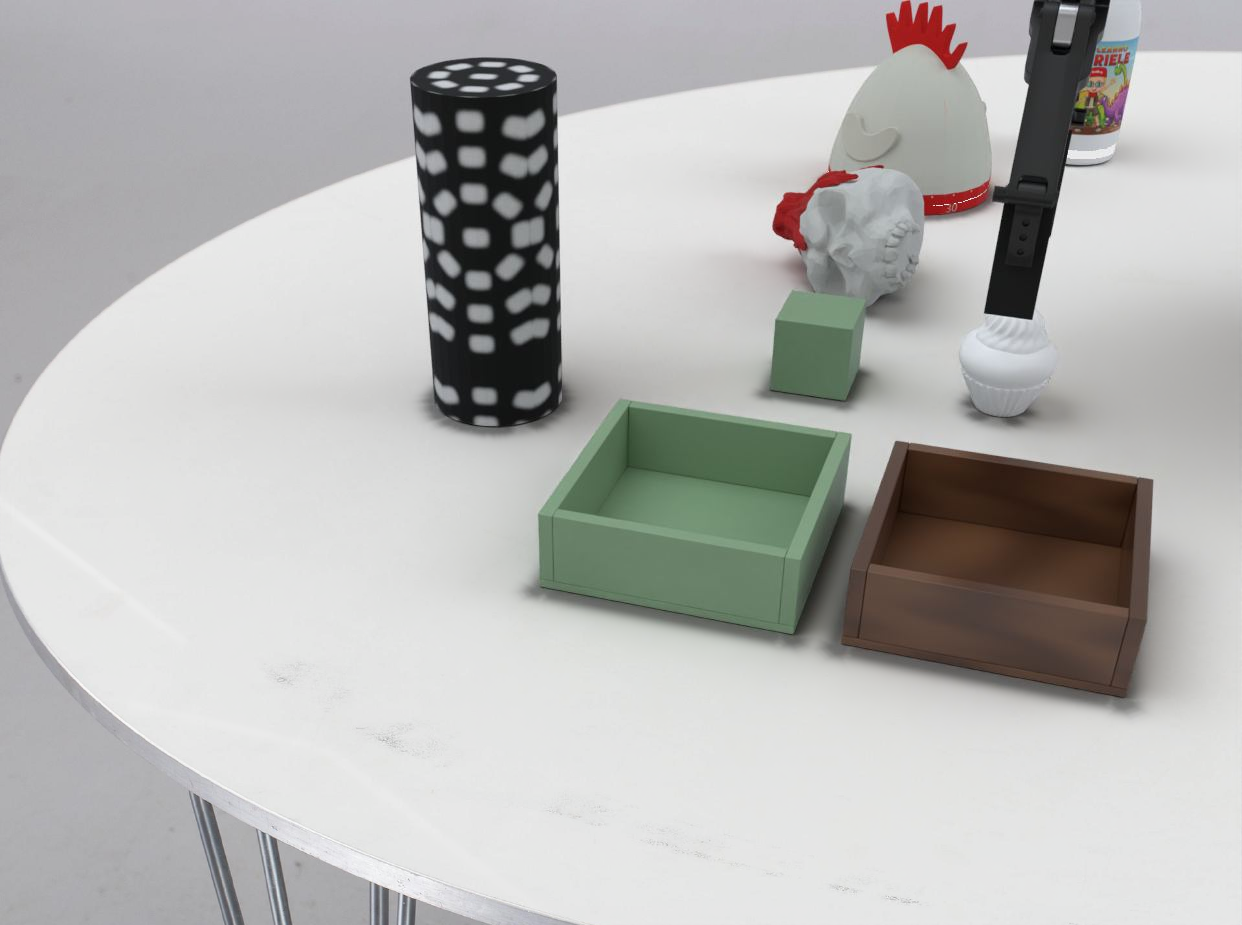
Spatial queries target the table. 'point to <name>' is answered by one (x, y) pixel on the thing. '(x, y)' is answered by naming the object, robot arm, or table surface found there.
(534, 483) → the table surface
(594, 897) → the table surface
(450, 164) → the spotted tube
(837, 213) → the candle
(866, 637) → the brown bin
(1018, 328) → the muffin
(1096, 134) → the milk bottle
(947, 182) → the kitchen timer
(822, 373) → the green block
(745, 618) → the green bin
